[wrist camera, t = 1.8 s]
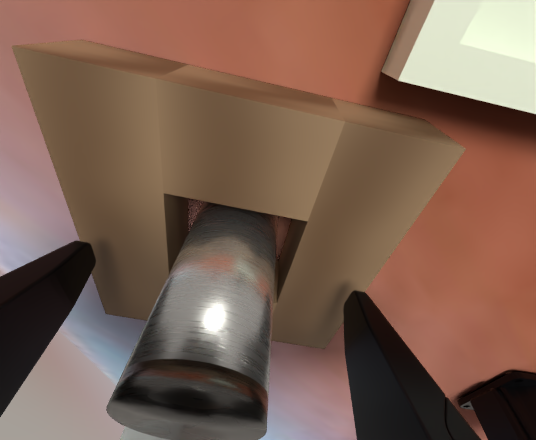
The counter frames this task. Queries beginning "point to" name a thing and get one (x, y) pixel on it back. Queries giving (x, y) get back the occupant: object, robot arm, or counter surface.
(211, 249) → the pin
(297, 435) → the counter surface
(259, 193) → the socket
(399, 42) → the tray
